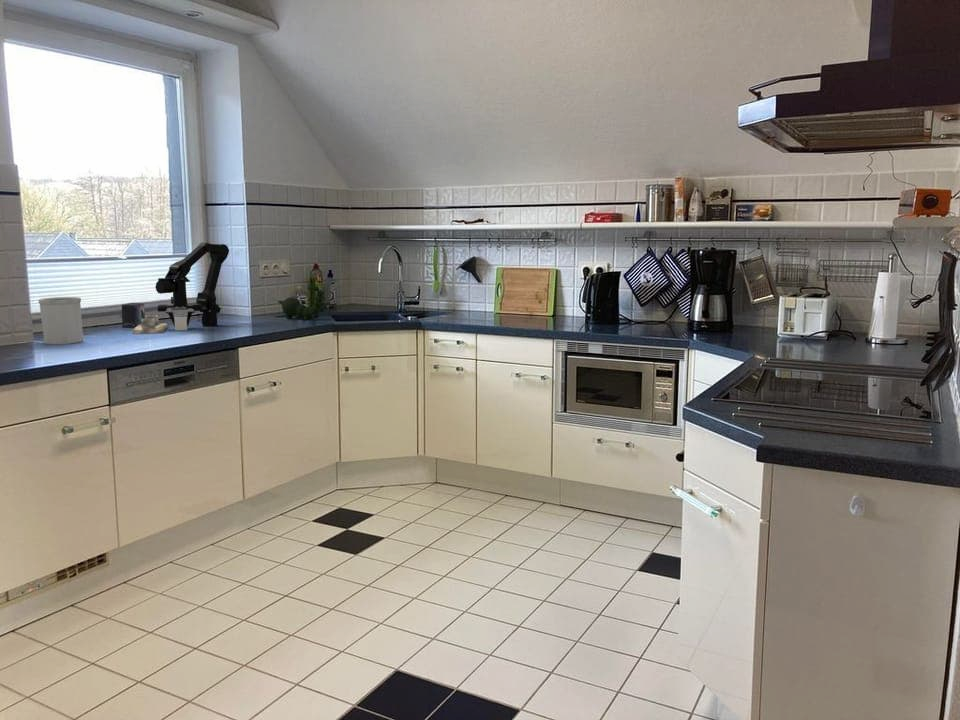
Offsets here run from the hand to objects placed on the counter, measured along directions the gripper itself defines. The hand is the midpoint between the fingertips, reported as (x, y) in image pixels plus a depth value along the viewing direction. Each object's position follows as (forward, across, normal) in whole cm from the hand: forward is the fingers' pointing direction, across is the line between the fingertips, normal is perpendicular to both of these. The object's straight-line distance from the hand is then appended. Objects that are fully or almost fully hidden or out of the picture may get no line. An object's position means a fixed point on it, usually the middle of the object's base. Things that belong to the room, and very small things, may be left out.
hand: (181, 326), depth 348 cm
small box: (+2, +22, -17) cm, 28 cm away
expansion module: (+1, 0, 0) cm, 1 cm away
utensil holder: (+2, +42, +31) cm, 52 cm away
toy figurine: (+2, -55, -29) cm, 62 cm away
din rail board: (+1, +13, 0) cm, 13 cm away
